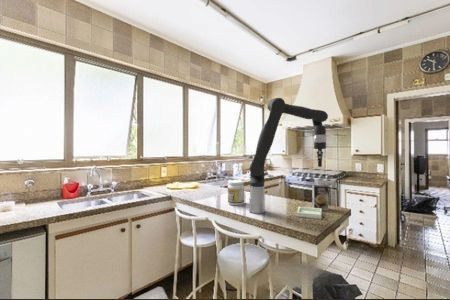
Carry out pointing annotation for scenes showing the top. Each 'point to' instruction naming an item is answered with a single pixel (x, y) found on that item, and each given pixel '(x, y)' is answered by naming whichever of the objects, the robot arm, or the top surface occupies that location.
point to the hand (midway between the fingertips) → (319, 166)
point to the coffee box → (320, 197)
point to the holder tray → (309, 212)
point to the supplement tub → (236, 192)
